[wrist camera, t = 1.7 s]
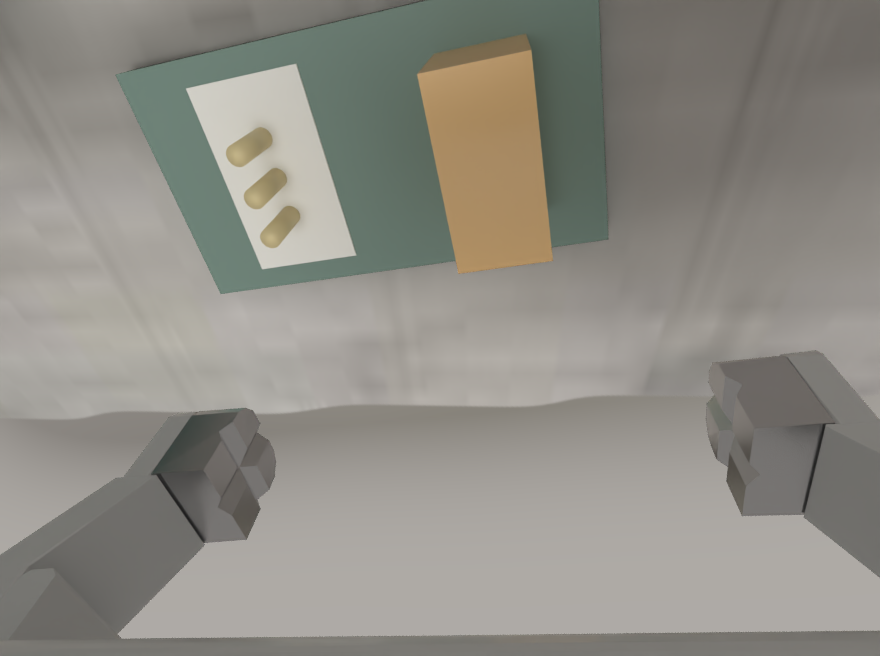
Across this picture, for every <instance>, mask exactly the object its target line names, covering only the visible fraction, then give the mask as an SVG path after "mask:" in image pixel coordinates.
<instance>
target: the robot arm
mask: <svg viewBox="0 0 880 656" xmlns="http://www.w3.org/2000/svg"><path fill="white" fill-rule="evenodd" d="M708 383H709V385H710V387H711V389H712V391H713V393H714V396H713V397H712V398H711V400H710V401H709V402H708V403H707V407H706V408H707V409H706V423H707V430H708V437H709V440H710V443H711V446H712V449H713V452H714V454H715V456H716V459H717V460H718V461H720V462H721V463H723V464H724V465H726V466H727V467H728V471H727V483H728V486H729V488H730V490H731V492H732V495H733V497H734V499H735V501H736V503H737V506H738V508H739V510H740V512H741V515H742V516H757V515H758V516H760V515H804V518H805V519H807V520H808V521H809V522H810V523H812V524H813V525H814V526H816V527H817V528H818V529H819V530H820V531H822V532H823V533H824V534H825V535H827V536H828V537H829V538H830V539H832V540H833V541H834V542H836V543H837V544H838V545H839V546H841V547H842V548H843V549H844V550H846V551H847V552H848V553H849V554H851V555H852V556H853V557H854V558H856V559H857V560H858V561H860V562H861V563H862V564H863V565H865V566H866V567H867V568H869V569H870V570H871V571H872V572H873V573H875V574H876V575H877V576H878V577H880V419H879V418H878V417H877V416H876V415H875V414H874V412H873V411H872V410H871V409H870V408H869V407H868V405H867V404H866V403H865V402H864V401H863V400H862V398H861V397H860V396H859V395H858V394H857V393H856V391H855V390H854V389H853V388H852V387H851V386H850V384H849V383H848V382H847V381H846V380H845V379H844V378H843V376H842V375H841V374H840V373H839V372H838V371H837V369H836V368H835V367H834V366H833V365H832V364H831V362H830V361H829V360H828V359H827V358H826V357H825V355H824V354H823V353H820V352H818V351H816V350H815V351H807V352H799V353H790V354H782V355H780V356H772V357H762V358H752V359H742V360H733V361H723V362H713V363H712V365H711V367H710V370H709V380H708ZM259 426H260V422H259V420H258V418H257V417H256V415H255V413H254V411H253V410H250V409H247V408H238V409H224V410H210V411H199V412H188V413H177V414H175V415H173V416H170V417H168V419H167V420H166V422H165V423H164V424H163V426H162V427H161V428H160V429H159V431H158V432H157V433H156V435H155V436H154V438H153V439H152V440H151V441H150V443H149V444H148V445H147V447H146V448H145V449H144V450H143V452H142V453H141V454H140V456H139V457H138V459H137V460H136V461H135V462H134V464H133V465H132V466H131V468H130V469H129V470H128V472H127V473H126V474H125V476H124V477H122V478H115V479H114V480H112V481H111V482H109V483H108V484H106V485H105V486H103V487H102V488H100V489H99V490H97V491H96V492H94V493H93V494H91V495H90V496H88V497H86V498H85V499H84V500H82V501H80V502H79V503H78V504H76V505H75V506H73V507H72V508H70V509H69V510H67V511H66V512H64V513H62V514H61V515H59V516H58V517H57V518H55V519H53V520H52V521H51V522H49V523H47V524H46V525H44V526H43V527H42V528H40V529H38V530H37V531H35V532H34V533H32V534H31V535H30V536H28V537H26V538H25V539H23V540H22V541H20V542H19V543H18V544H16V545H14V546H13V547H11V548H10V549H8V550H7V551H5V552H4V553H2V554H1V555H0V656H880V631H811V632H810V631H808V632H719V633H718V632H716V633H715V632H714V633H713V632H712V633H711V632H710V633H631V634H629V633H626V634H625V633H624V634H544V635H543V634H539V635H458V636H457V635H456V636H455V635H454V636H355V637H354V636H353V637H249V638H248V637H247V638H151V639H121V637H119V635H118V633H119V632H120V631H121V630H122V629H123V628H124V627H125V626H126V625H127V624H128V623H129V622H130V621H131V620H132V618H134V616H136V615H137V614H138V613H139V612H140V611H141V610H142V608H143V607H144V606H145V605H146V604H147V603H148V602H149V601H150V600H151V599H152V598H153V597H154V596H155V595H156V594H157V593H158V592H159V591H160V590H161V589H162V588H163V587H164V586H165V585H166V584H167V583H168V582H169V581H170V580H171V579H172V578H173V577H174V576H175V575H176V574H177V573H178V572H179V571H180V570H181V569H182V568H183V567H184V566H185V565H186V564H187V563H188V562H189V560H191V559H192V558H193V557H194V555H196V553H197V552H198V551H199V550H200V549H201V548H202V547H203V546H204V543H208V542H222V541H234V540H246V539H247V538H248V535H249V533H250V531H251V529H252V527H253V524H254V522H255V520H256V518H257V516H258V513H259V511H260V506H259V503H258V500H257V499H259V498H260V497H261V496H262V495H263V494H264V493H265V492H267V491H268V490H269V489H270V486H271V484H272V481H273V479H274V477H275V467H276V459H275V454H274V450H273V448H272V446H271V443H270V441H269V440H268V439H266V438H264V437H263V436H261V435H260V434H259V433H257V432H258V429H259Z"/></svg>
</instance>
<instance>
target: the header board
mask: <svg viewBox="0 0 880 656" xmlns="http://www.w3.org/2000/svg"><path fill="white" fill-rule="evenodd" d="M522 34H526V35H527V38H528V41H529V44H530V47H531V51H532V61H533V71H534V81H535V90H536V100H537V110H538V120H539V130H540V139H541V149H542V159H543V169H544V179H545V188H546V198H547V208H548V218H549V227H550V237H551V247H558V246H565V245H572V244H579V243H586V242H593V241H600V240H607V239H608V218H607V193H606V169H605V144H604V120H603V95H602V71H601V46H600V22H599V0H424V1H420V2H416V3H412V4H408V5H403V6H399V7H395V8H391V9H387V10H382V11H378V12H374V13H370V14H366V15H362V16H357V17H353V18H349V19H345V20H341V21H336V22H332V23H328V24H324V25H320V26H315V27H311V28H307V29H303V30H299V31H294V32H290V33H286V34H282V35H278V36H273V37H269V38H265V39H261V40H257V41H252V42H248V43H244V44H240V45H236V46H231V47H227V48H223V49H219V50H215V51H210V52H206V53H202V54H198V55H194V56H189V57H185V58H181V59H177V60H173V61H169V62H164V63H160V64H156V65H152V66H148V67H143V68H139V69H135V70H131V71H127V72H124V73H120V74H116V77H117V79H118V81H119V83H120V85H121V88H122V90H123V92H124V94H125V96H126V98H127V100H128V102H129V104H130V106H131V108H132V110H133V113H134V115H135V117H136V119H137V121H138V123H139V125H140V127H141V129H142V131H143V133H144V135H145V137H146V140H147V142H148V144H149V146H150V148H151V150H152V152H153V154H154V156H155V158H156V160H157V162H158V164H159V167H160V169H161V171H162V173H163V175H164V177H165V179H166V181H167V183H168V185H169V187H170V189H171V191H172V194H173V196H174V198H175V200H176V202H177V204H178V206H179V208H180V210H181V212H182V214H183V216H184V218H185V221H186V223H187V225H188V227H189V229H190V231H191V233H192V235H193V237H194V239H195V241H196V243H197V246H198V248H199V250H200V252H201V254H202V256H203V258H204V260H205V262H206V264H207V266H208V268H209V270H210V273H211V275H212V277H213V279H214V281H215V283H216V285H217V287H218V289H219V291H220V293H221V294H224V293H231V292H238V291H246V290H253V289H260V288H267V287H274V286H281V285H288V284H295V283H302V282H309V281H316V280H324V279H331V278H338V277H345V276H352V275H359V274H366V273H373V272H380V271H387V270H395V269H402V268H409V267H416V266H423V265H430V264H437V263H444V262H451V261H456V259H455V254H454V249H453V245H452V240H451V235H450V230H449V225H448V221H447V216H446V211H445V206H444V201H443V197H442V192H441V187H440V182H439V177H438V172H437V168H436V163H435V158H434V153H433V148H432V144H431V139H430V134H429V129H428V124H427V120H426V115H425V110H424V105H423V100H422V96H421V91H420V86H419V81H418V76H417V74H418V72H419V71H420V70H421V69H422V68H423V66H424V65H425V64H426V63H427V62H428V60H429V59H430V58H431V57H432V56H433V54H435V53H439V52H444V51H449V50H453V49H458V48H462V47H467V46H472V45H476V44H481V43H485V42H490V41H495V40H499V39H504V38H508V37H513V36H517V35H522Z"/></svg>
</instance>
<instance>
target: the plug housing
mask: <svg viewBox="0 0 880 656" xmlns="http://www.w3.org/2000/svg"><path fill="white" fill-rule="evenodd" d="M417 76H418V81H419V86H420V91H421V96H422V100H423V105H424V110H425V115H426V120H427V124H428V129H429V134H430V139H431V144H432V148H433V153H434V158H435V163H436V168H437V172H438V177H439V182H440V187H441V192H442V197H443V201H444V206H445V211H446V216H447V221H448V225H449V230H450V235H451V240H452V245H453V249H454V254H455V259H456V264H457V269H458V273H459V274H460V273H468V272H475V271H482V270H490V269H497V268H504V267H512V266H519V265H526V264H534V263H541V262H548V261H553V257H552V247H551V237H550V227H549V218H548V208H547V198H546V188H545V179H544V169H543V159H542V149H541V139H540V130H539V120H538V110H537V100H536V90H535V81H534V71H533V61H532V51H531V47H530V44H529V41H528V38H527V35H526V34H522V35H517V36H513V37H508V38H504V39H499V40H495V41H490V42H485V43H481V44H476V45H472V46H467V47H462V48H458V49H453V50H449V51H444V52H439V53H435V54H433V56H432V57H431V58H430V59H429V60H428V62H427V63H426V64H425V65H424V66H423V68H422V69H421V70H420V71H419V72H418V74H417Z"/></svg>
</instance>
